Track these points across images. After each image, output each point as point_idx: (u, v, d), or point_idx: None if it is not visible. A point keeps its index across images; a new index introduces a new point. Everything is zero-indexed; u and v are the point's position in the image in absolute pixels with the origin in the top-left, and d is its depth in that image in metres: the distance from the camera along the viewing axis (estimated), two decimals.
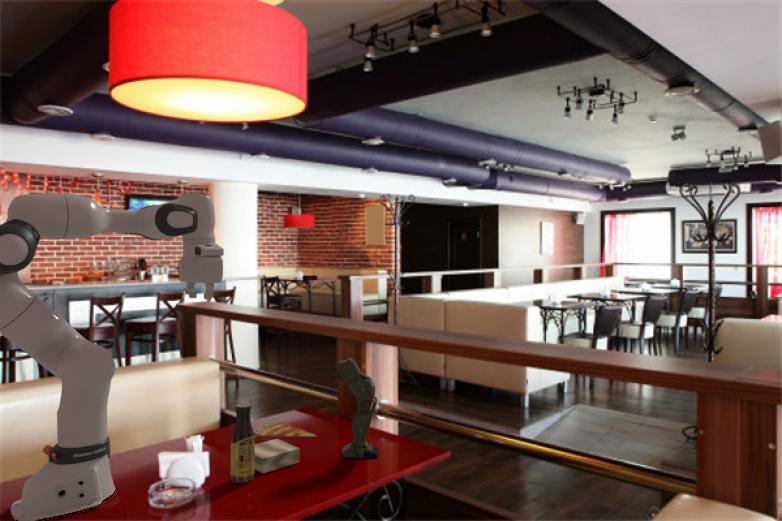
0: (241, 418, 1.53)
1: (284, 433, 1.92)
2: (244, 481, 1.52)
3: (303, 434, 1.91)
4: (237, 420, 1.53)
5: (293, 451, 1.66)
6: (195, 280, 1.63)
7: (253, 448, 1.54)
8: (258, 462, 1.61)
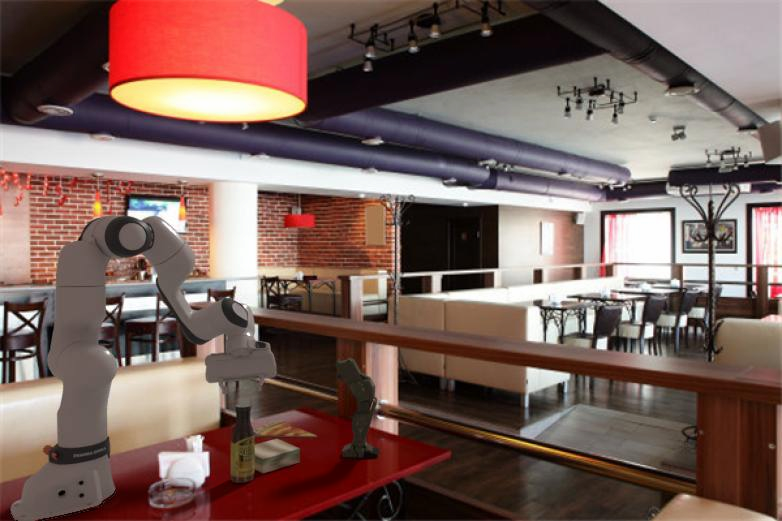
0: (241, 418, 1.53)
1: (284, 433, 1.92)
2: (244, 481, 1.52)
3: (303, 434, 1.91)
4: (237, 420, 1.53)
5: (293, 451, 1.66)
6: (244, 372, 1.69)
7: (253, 448, 1.54)
8: (258, 462, 1.61)
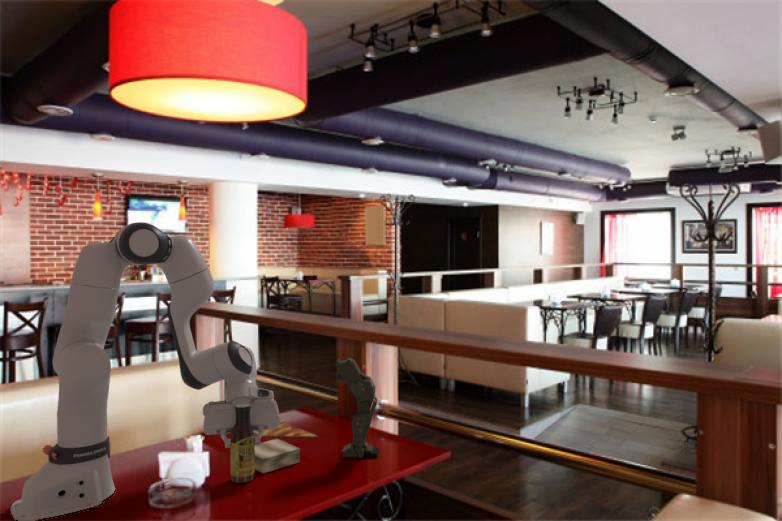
0: (241, 418, 1.53)
1: (284, 433, 1.92)
2: (244, 481, 1.52)
3: (303, 434, 1.91)
4: (237, 420, 1.53)
5: (293, 451, 1.66)
6: None
7: (253, 448, 1.54)
8: (258, 462, 1.61)
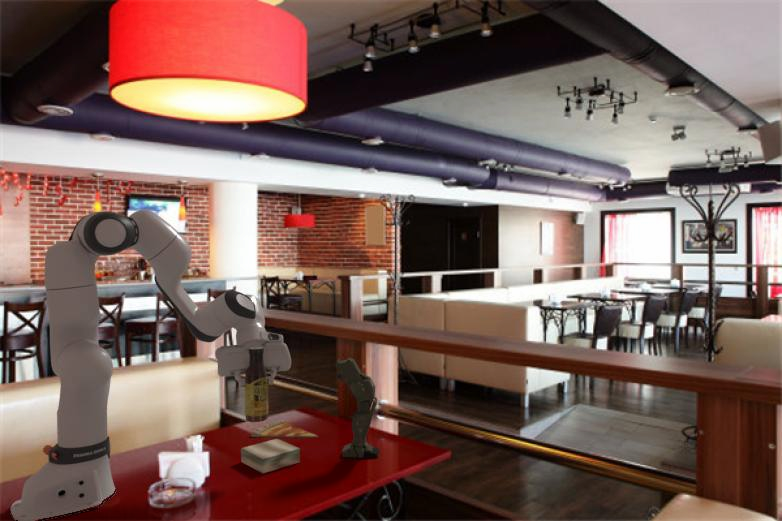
0: (255, 360, 1.58)
1: (285, 433, 1.92)
2: (259, 420, 1.57)
3: (304, 434, 1.91)
4: (251, 362, 1.58)
5: (293, 451, 1.66)
6: None
7: (267, 388, 1.59)
8: (258, 462, 1.61)
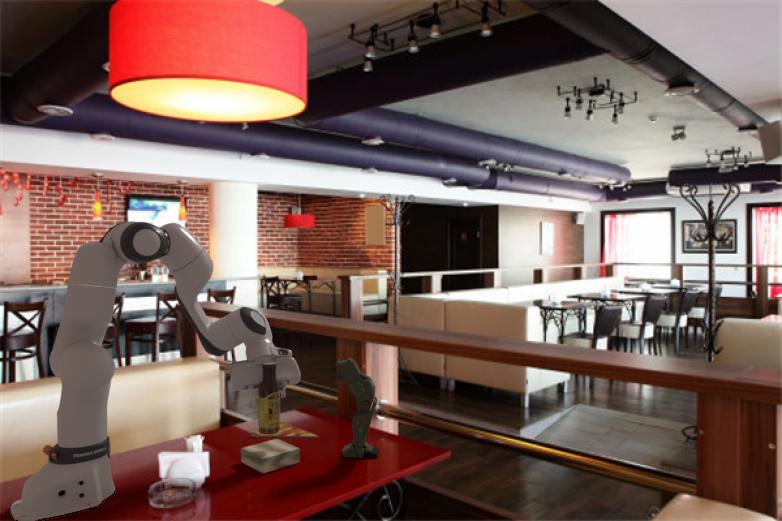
0: (269, 374, 1.65)
1: (285, 433, 1.92)
2: (273, 432, 1.65)
3: (304, 434, 1.90)
4: (265, 377, 1.66)
5: (293, 451, 1.66)
6: None
7: None
8: (258, 462, 1.61)
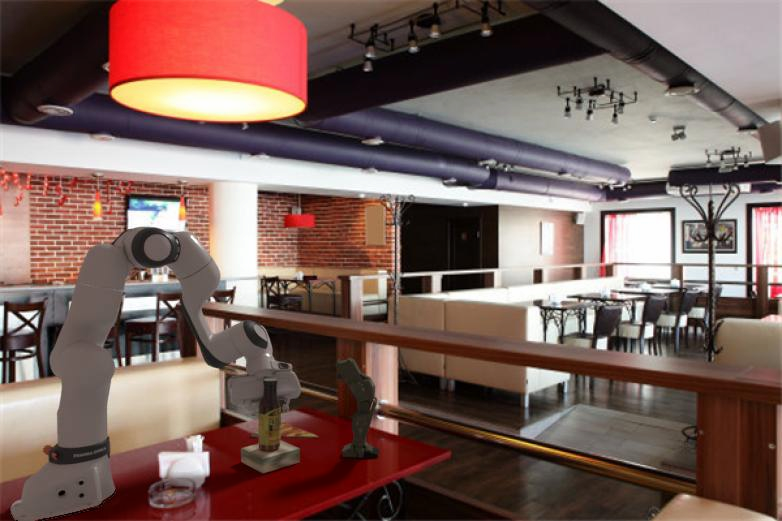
0: (270, 391, 1.65)
1: (285, 433, 1.92)
2: (273, 449, 1.65)
3: (304, 434, 1.90)
4: (265, 393, 1.66)
5: (293, 451, 1.66)
6: None
7: (280, 418, 1.67)
8: (258, 462, 1.61)
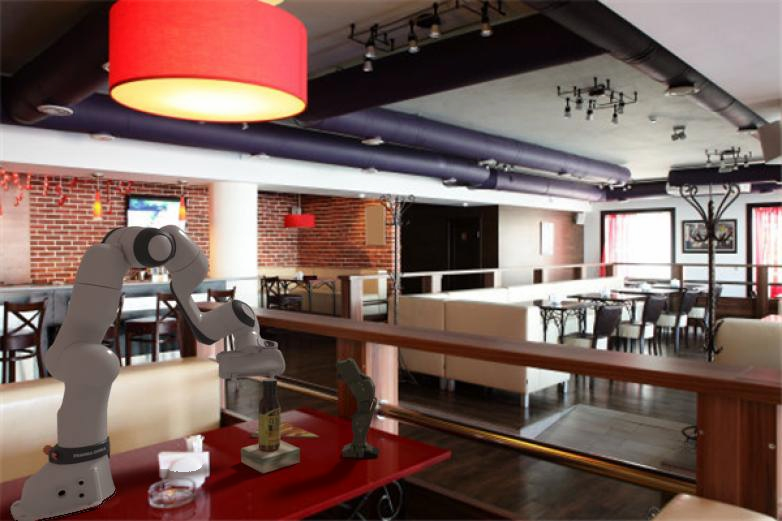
0: (269, 391, 1.65)
1: (286, 433, 1.92)
2: (273, 449, 1.65)
3: (305, 434, 1.90)
4: (265, 393, 1.66)
5: (293, 451, 1.66)
6: (257, 368, 1.79)
7: (280, 418, 1.67)
8: (258, 462, 1.61)
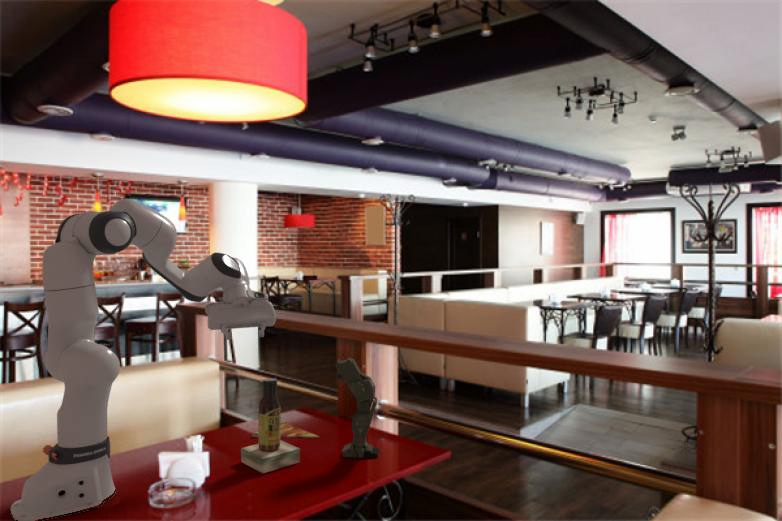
0: (269, 391, 1.66)
1: (286, 433, 1.92)
2: (273, 449, 1.65)
3: (305, 434, 1.90)
4: (265, 393, 1.66)
5: (293, 451, 1.66)
6: (246, 319, 1.75)
7: (280, 418, 1.67)
8: (258, 462, 1.61)
